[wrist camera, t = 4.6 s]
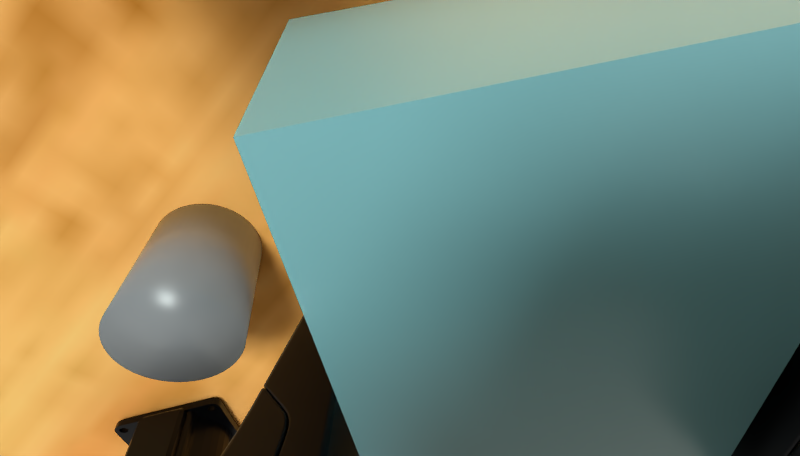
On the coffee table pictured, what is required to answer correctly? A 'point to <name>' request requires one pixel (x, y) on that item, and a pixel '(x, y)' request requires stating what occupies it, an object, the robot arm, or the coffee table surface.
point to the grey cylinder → (186, 297)
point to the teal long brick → (539, 218)
